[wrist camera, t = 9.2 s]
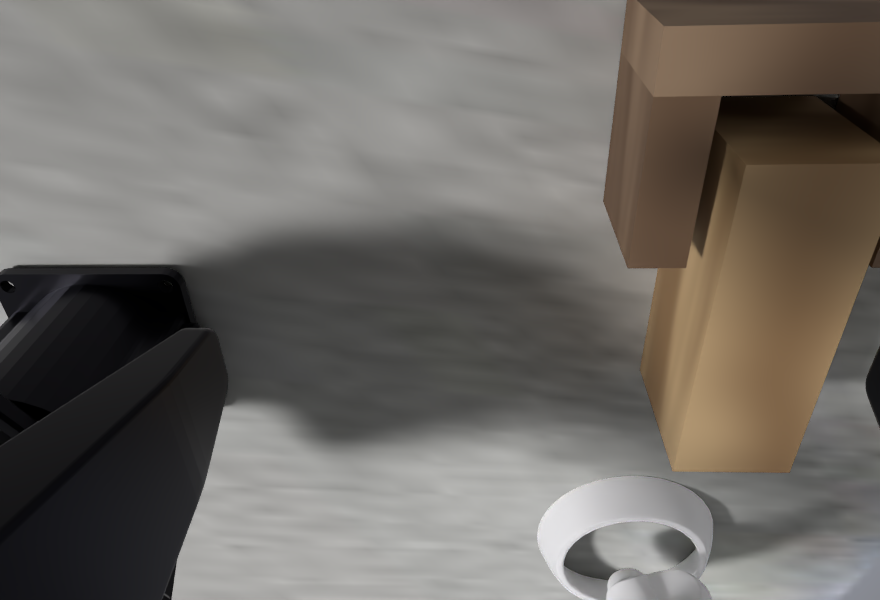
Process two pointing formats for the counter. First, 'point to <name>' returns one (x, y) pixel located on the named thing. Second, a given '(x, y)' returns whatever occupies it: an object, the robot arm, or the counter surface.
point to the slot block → (719, 98)
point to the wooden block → (762, 284)
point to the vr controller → (625, 500)
